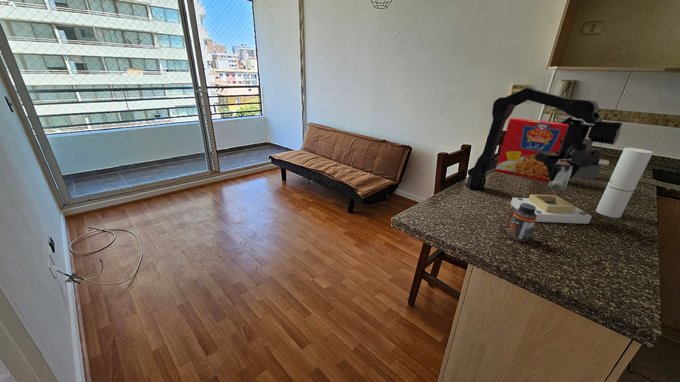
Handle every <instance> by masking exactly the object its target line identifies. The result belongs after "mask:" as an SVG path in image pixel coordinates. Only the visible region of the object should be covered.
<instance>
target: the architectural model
mask: <svg viewBox="0 0 680 382" xmlns="http://www.w3.org/2000/svg"><path fill="white" fill-rule="evenodd" d="M584 143H586V144H587V147H586V150H588V151H591V149H592V146H593V143H594V142H592V141H591V139H589V138H586V139H585V141H584ZM569 159H570V158H569ZM599 160H600V161H599V163H598V165H590V166H588V167H584V168H582V169H580V170H578V171H577V172H576V173H575V174H574V175H573V177H576V178H577V177H578V178H584V179H591V180H596V178H597V176H598V174H599V171H600V169H601V166H602V165H605V166H606V165H607V166H609V163H610V160H607V159H603V158H600V159H599ZM567 163H568V161H567Z"/></svg>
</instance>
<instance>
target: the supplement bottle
mask: <svg viewBox="0 0 680 382" xmlns="http://www.w3.org/2000/svg"><path fill="white" fill-rule="evenodd" d="M535 209H536V207H535V206H533V205H531V204H528V203H521V204H520V207H519V209H516V208H515V210H514V211H513V215H512V217H511V219H510V223H509V226H508V228H507V232H506V233H507V236H508V237H509V238H510V239H512V240H514V241H515V242H516V241H517V242H522V243H524V242H527V241H529V240H530V236H531V234H532V231H533V229H534V226H535V223H536V222H535V220H536V218H537V216H536V214H535V213H534V212H535Z"/></svg>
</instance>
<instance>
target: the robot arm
mask: <svg viewBox="0 0 680 382" xmlns="http://www.w3.org/2000/svg"><path fill="white" fill-rule="evenodd" d="M527 101H530V102H533V103H537V104H541V105H544V106H547V107H551V108H554V109H557V110H561V111H562V112H563V113H565V114H567V115H569V116H568V118H566V119H564V120H562V121H561V122H560V123H562V124H568V127H567V130H566V133H565V136H564V138H563V140H560V141H559V143H562V144H561V147H560V150H559V151H556V153H555V154H557V155H554V154H552V153H549V152H539V153H537V155H536V157H535V159H536V160H538V161H540V162H543V163H545V164H546V167H547V171H548V175H549V180H550V181H553V180H554V178H555V175H556V172H557V170H558V168H559V167H561V166H562V165H560V164H559V163H560V161H568V164H572V165H574V167H573V170H572V173H571V175H570V178H569V180H568V182H569V181H570V180H571V179H572V178H573V177H574V176H573V175H574V174H575V173H576V172H577V171H578V170H580V169H582V168H584V167H588V166H590V165H598V163H599V161H600V160H599V159H601V156H602V152H601V151H600V150H590V151H588V150H586V147H587V144H586V143H584V141H585V139H591V141H592V142H593V143H599V144H600V143H601V144H605V145H613V146H614V145H616V143H617V141H618V139H619V137H620V134H621V130H622V126H623V122H619V121H615V122H613V121H604V120H602V117H601V116H600V113H599V110H600V109H599V108H600V107H599V104H598V102H597V101H595V100H591V99H579V98H569V97H565V96H561V95H558V94H554V93H553V94H552V93H549V92H545V91H541V90H538V89H536V88H535V89H534V88H532V87H525V88H522V89H521V90H520V91H517V92H515V93H512V94H510V95H508V96H506V97H505V96H504V97H499V98H497V99H496V100H495V101H494V102H493V103H492V110H491V112H492V113H491V115H492V122H491V126H490V129H489V131H488V135H487V139H486V141H485V145H484V148H483V151H482V153H481V154H480V156H479V157H478V159H477V160H476V162H475V164H474V166H473V167H472V168H470V169H468V170H467V175H468V178H467V181H466V183H464V185H465V186H466V187H467V188H468V189H469V190H472V191H473V190H474V191H476V190H477V191H485V185H486V183H487V175H488V174H489V173H491V172H493V171H494V170H495V169H496V166H497V163H498V159H499V158H496V155H495V154H496V151H497V148H498V145H499V143H500V140H501V136H502V133H503V130H504V127H505V124H506V122H507V121H508V118H509V117H510V116H511V115H512V113H513V111H514V110H515V108H516V107H517V106H519V105H521V104H523V103H525V102H527ZM574 118H575V119H574ZM569 158H570V159H569Z"/></svg>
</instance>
